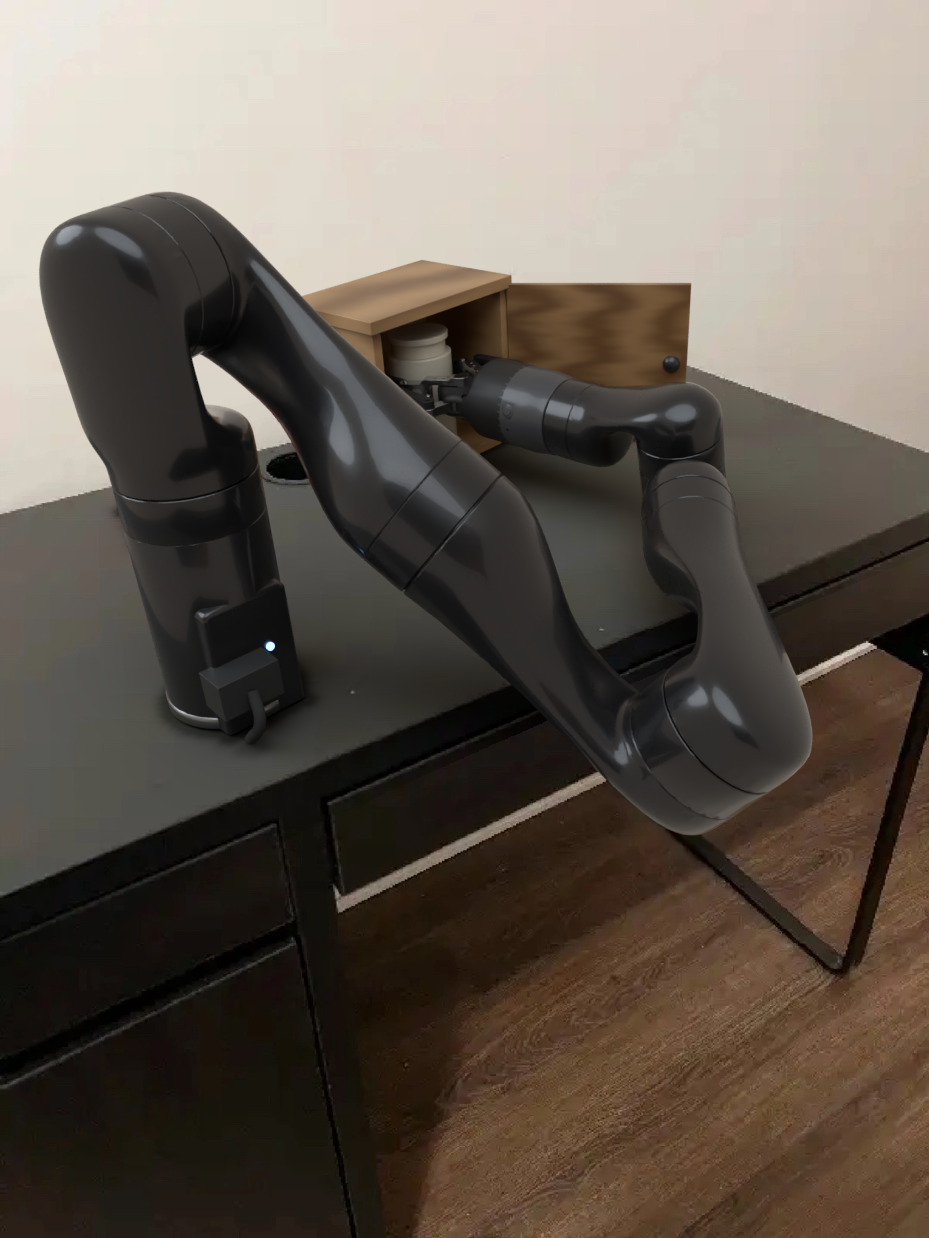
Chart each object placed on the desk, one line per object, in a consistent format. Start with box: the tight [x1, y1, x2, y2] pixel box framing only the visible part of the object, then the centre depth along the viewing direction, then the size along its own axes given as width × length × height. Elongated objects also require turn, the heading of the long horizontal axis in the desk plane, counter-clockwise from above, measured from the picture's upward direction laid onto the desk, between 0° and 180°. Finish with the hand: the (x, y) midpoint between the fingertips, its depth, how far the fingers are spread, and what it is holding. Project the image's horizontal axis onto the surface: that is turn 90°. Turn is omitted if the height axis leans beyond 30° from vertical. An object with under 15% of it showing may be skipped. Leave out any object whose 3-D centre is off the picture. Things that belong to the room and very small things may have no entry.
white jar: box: [386, 323, 457, 435], centre depth 104 cm, size 7×6×11 cm
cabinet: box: [301, 259, 692, 455], centre depth 103 cm, size 28×28×17 cm
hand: (405, 374), depth 105 cm, fingers closed on white jar, 6 cm apart
